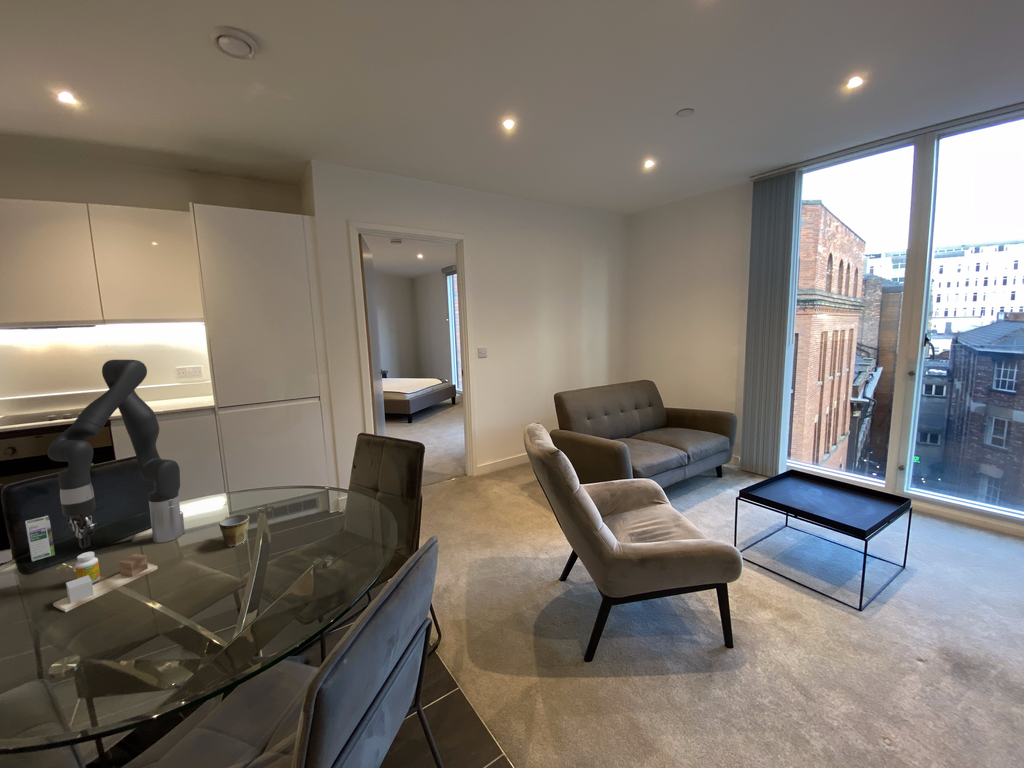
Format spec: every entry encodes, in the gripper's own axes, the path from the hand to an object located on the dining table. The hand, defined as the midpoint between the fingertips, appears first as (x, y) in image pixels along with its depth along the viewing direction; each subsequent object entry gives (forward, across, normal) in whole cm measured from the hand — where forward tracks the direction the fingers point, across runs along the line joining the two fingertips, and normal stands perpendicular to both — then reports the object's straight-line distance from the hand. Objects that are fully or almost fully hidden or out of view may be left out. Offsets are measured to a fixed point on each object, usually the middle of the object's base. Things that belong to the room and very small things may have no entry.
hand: (85, 546), depth 135 cm
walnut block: (+12, -10, -8) cm, 17 cm away
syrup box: (+13, +35, -2) cm, 37 cm away
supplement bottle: (+13, 0, 0) cm, 13 cm away
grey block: (+12, -10, +6) cm, 16 cm away
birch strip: (+12, -10, -1) cm, 16 cm away
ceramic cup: (+13, -20, -36) cm, 43 cm away
